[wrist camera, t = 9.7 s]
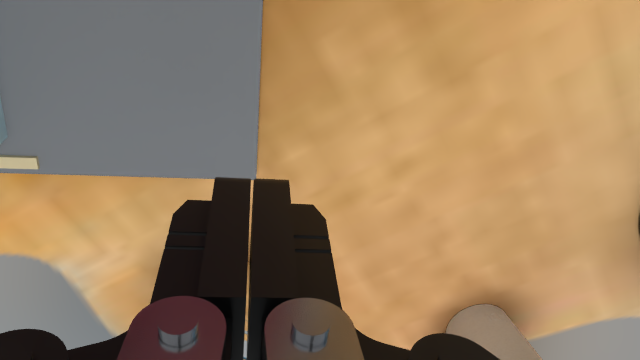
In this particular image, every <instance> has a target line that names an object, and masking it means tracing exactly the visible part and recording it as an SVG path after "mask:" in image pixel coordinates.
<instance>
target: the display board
mask: <svg viewBox="0 0 640 360" xmlns="http://www.w3.org/2000/svg"><path fill="white" fill-rule="evenodd" d="M262 8H263V0H0V98H1V103H2V109H3V114H4V119H5V125H6V130H7V135H8V137H7V138H6V139H5V140H4V141H3V142H2V143H1V144H0V173H23V174H59V175H95V176H131V177H167V178H202V179H215V177H228V178H250V179H251V180H254V179H256V171H257V143H258V116H259V89H260V62H261V35H262Z"/></svg>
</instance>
